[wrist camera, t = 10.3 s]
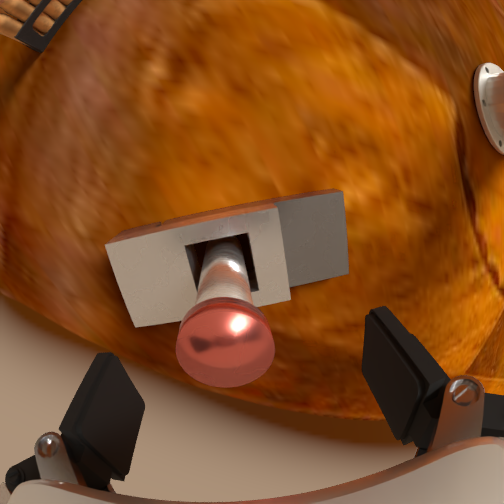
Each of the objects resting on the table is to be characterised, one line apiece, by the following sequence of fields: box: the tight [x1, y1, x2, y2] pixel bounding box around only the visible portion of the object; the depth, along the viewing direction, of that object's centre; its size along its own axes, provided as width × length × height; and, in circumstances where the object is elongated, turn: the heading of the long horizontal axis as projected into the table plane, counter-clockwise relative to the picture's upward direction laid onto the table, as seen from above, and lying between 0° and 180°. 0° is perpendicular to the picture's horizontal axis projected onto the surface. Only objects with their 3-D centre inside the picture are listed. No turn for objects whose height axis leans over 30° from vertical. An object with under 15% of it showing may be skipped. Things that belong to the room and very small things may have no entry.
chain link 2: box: [161, 189, 349, 287], centre depth 22 cm, size 14×7×2 cm, turn 100°
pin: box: [176, 236, 275, 387], centre depth 17 cm, size 4×4×13 cm
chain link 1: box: [105, 203, 291, 327], centre depth 21 cm, size 12×7×4 cm, turn 100°
